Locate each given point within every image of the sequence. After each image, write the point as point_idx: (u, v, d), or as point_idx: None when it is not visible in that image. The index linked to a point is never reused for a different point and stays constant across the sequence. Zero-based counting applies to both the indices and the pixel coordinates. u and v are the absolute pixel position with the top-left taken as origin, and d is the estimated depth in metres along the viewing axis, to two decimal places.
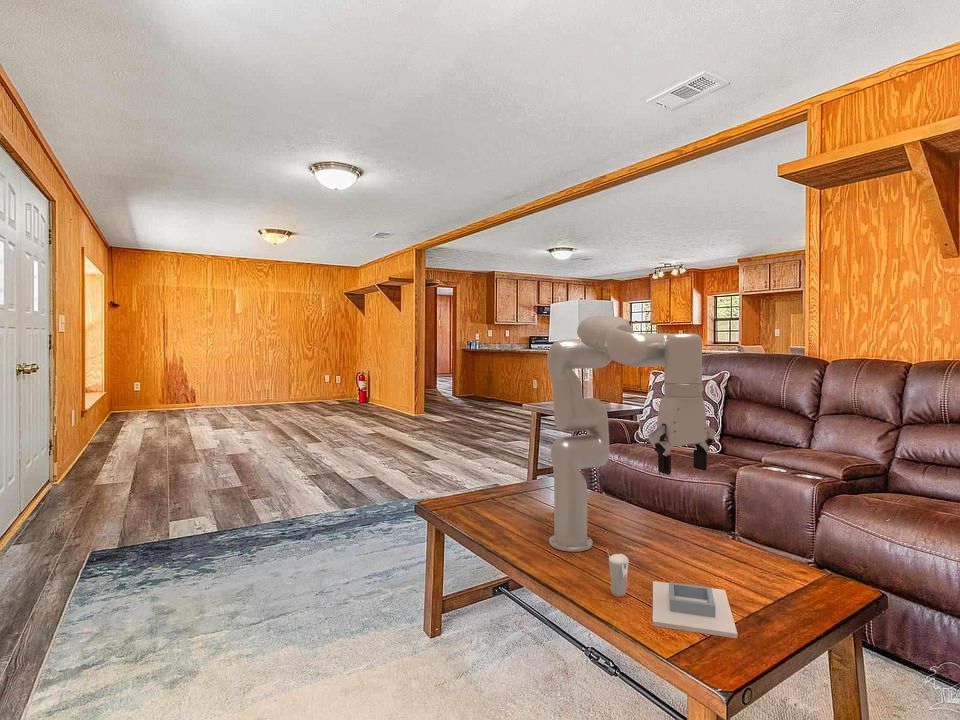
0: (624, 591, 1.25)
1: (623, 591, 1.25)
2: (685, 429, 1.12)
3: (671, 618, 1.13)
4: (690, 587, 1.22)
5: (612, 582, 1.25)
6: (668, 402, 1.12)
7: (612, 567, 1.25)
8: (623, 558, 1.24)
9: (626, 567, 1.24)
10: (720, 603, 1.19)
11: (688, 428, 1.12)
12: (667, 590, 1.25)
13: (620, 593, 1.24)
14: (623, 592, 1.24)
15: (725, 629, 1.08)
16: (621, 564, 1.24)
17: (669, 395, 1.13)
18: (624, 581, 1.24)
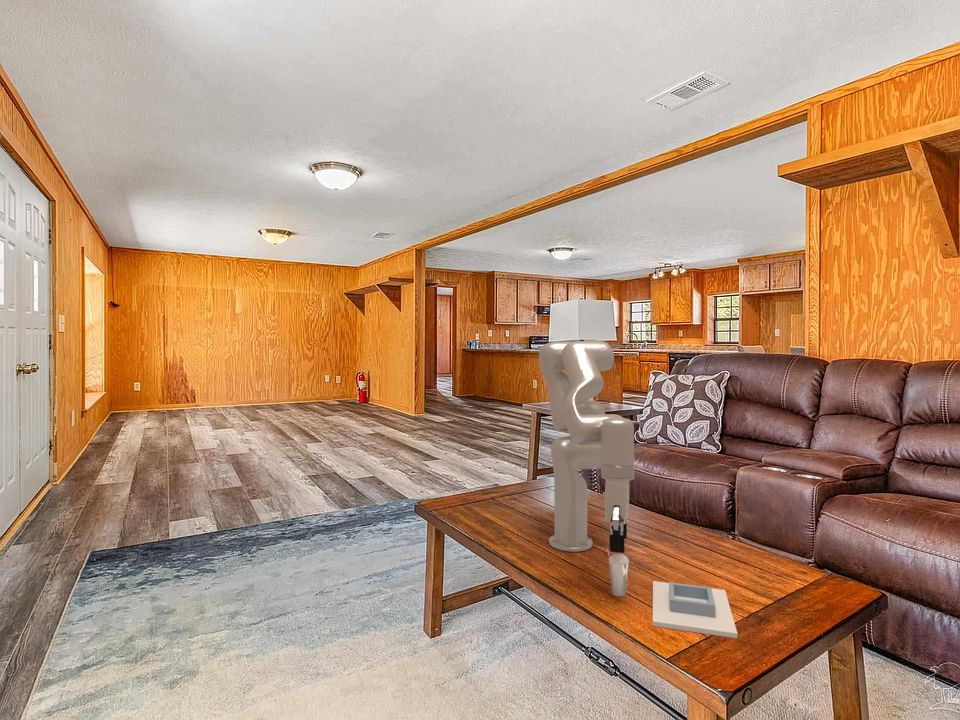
0: (624, 591, 1.25)
1: (623, 591, 1.25)
2: (628, 506, 1.23)
3: (671, 618, 1.13)
4: (690, 587, 1.22)
5: (612, 582, 1.25)
6: (619, 484, 1.21)
7: (612, 567, 1.25)
8: (623, 558, 1.24)
9: (626, 567, 1.24)
10: (720, 603, 1.19)
11: (628, 505, 1.24)
12: (667, 590, 1.25)
13: (620, 593, 1.24)
14: (623, 592, 1.24)
15: (725, 629, 1.08)
16: (621, 564, 1.24)
17: (617, 477, 1.22)
18: (624, 581, 1.24)
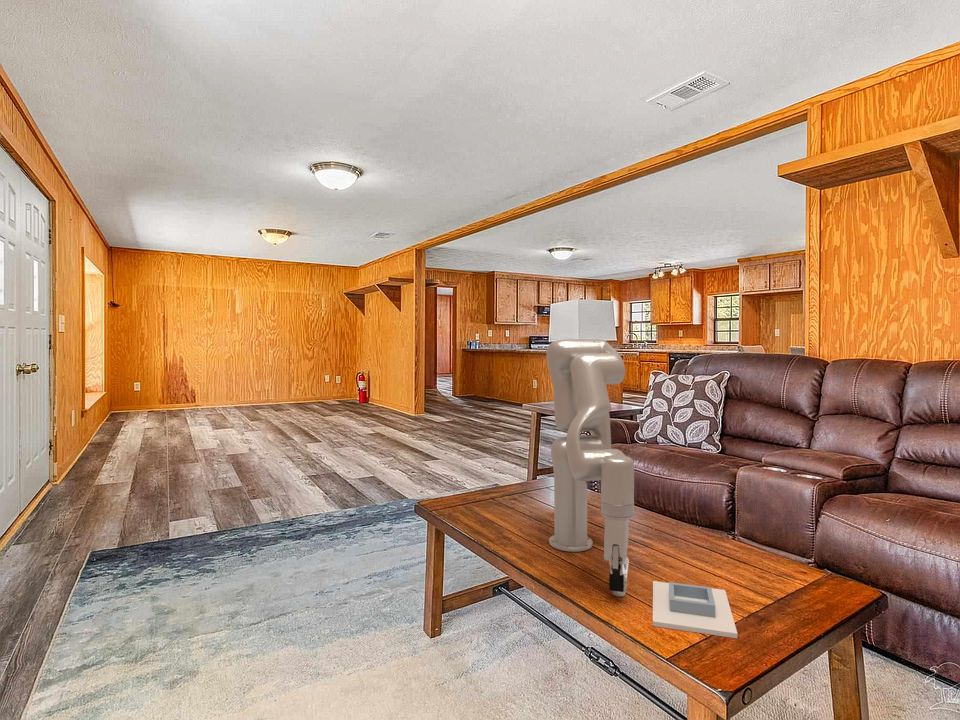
0: (624, 591, 1.25)
1: (623, 591, 1.25)
2: (627, 544, 1.24)
3: (671, 618, 1.13)
4: (690, 587, 1.22)
5: None
6: (619, 523, 1.21)
7: None
8: None
9: (626, 567, 1.24)
10: (720, 603, 1.19)
11: (627, 543, 1.25)
12: (667, 590, 1.25)
13: (620, 593, 1.24)
14: (623, 592, 1.24)
15: (725, 629, 1.08)
16: None
17: (616, 516, 1.22)
18: (624, 581, 1.24)
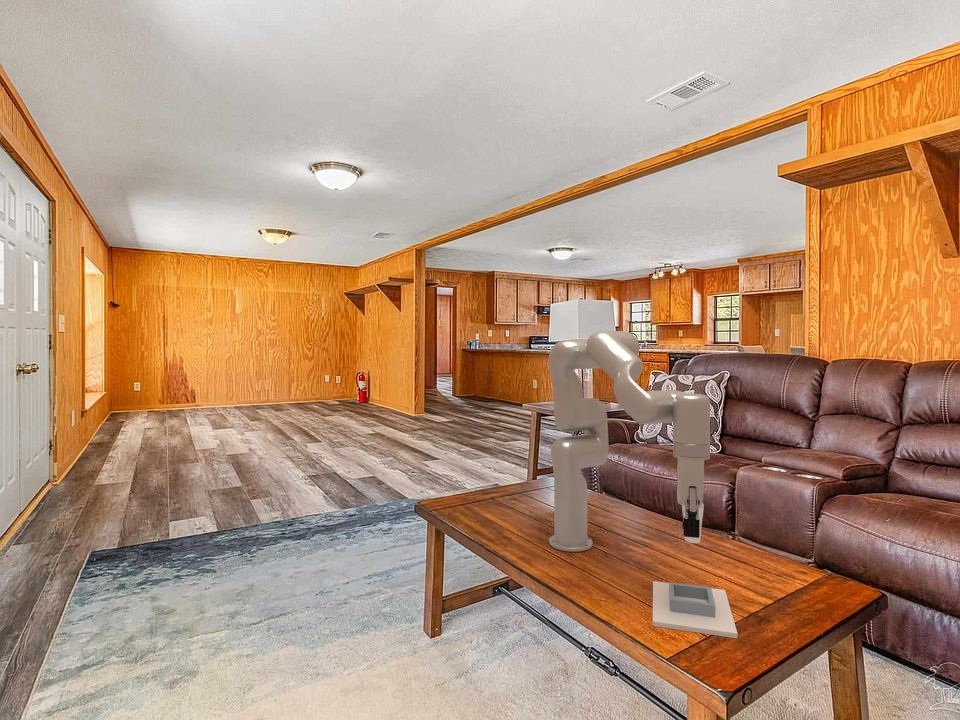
0: (699, 537, 1.17)
1: None
2: None
3: (671, 618, 1.13)
4: (690, 587, 1.22)
5: None
6: (695, 463, 1.13)
7: None
8: None
9: (702, 511, 1.16)
10: (720, 603, 1.19)
11: None
12: (667, 590, 1.25)
13: (695, 539, 1.16)
14: (698, 538, 1.16)
15: (725, 629, 1.08)
16: None
17: (692, 456, 1.14)
18: None
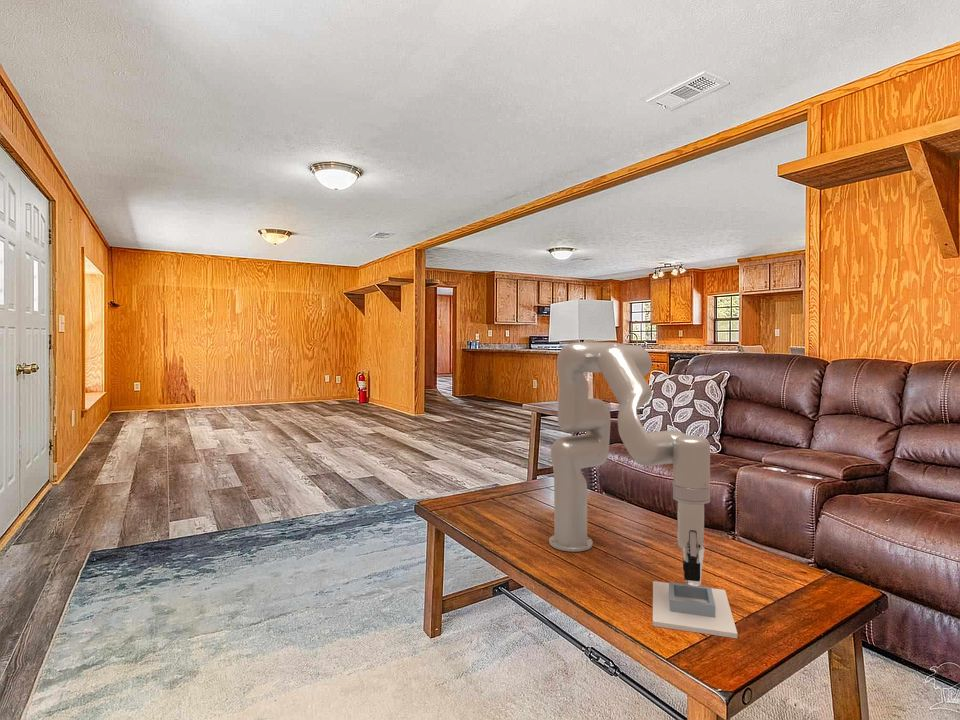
0: (700, 580, 1.17)
1: None
2: None
3: (671, 618, 1.13)
4: (690, 587, 1.22)
5: None
6: (696, 508, 1.13)
7: None
8: None
9: (702, 554, 1.16)
10: (720, 603, 1.19)
11: None
12: (667, 590, 1.25)
13: (695, 582, 1.16)
14: (698, 581, 1.17)
15: (725, 629, 1.08)
16: None
17: (693, 500, 1.14)
18: (700, 569, 1.17)
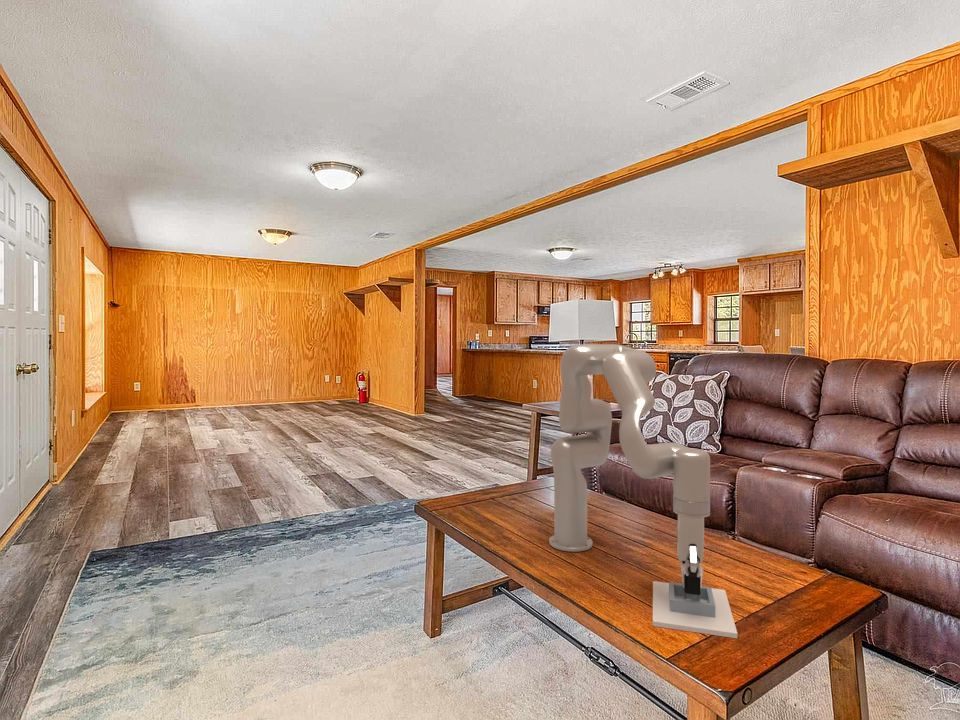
0: None
1: None
2: None
3: (671, 618, 1.13)
4: None
5: None
6: (696, 521, 1.14)
7: None
8: None
9: (701, 576, 1.17)
10: (720, 603, 1.19)
11: None
12: (667, 590, 1.25)
13: None
14: None
15: (725, 629, 1.08)
16: None
17: (693, 514, 1.14)
18: None
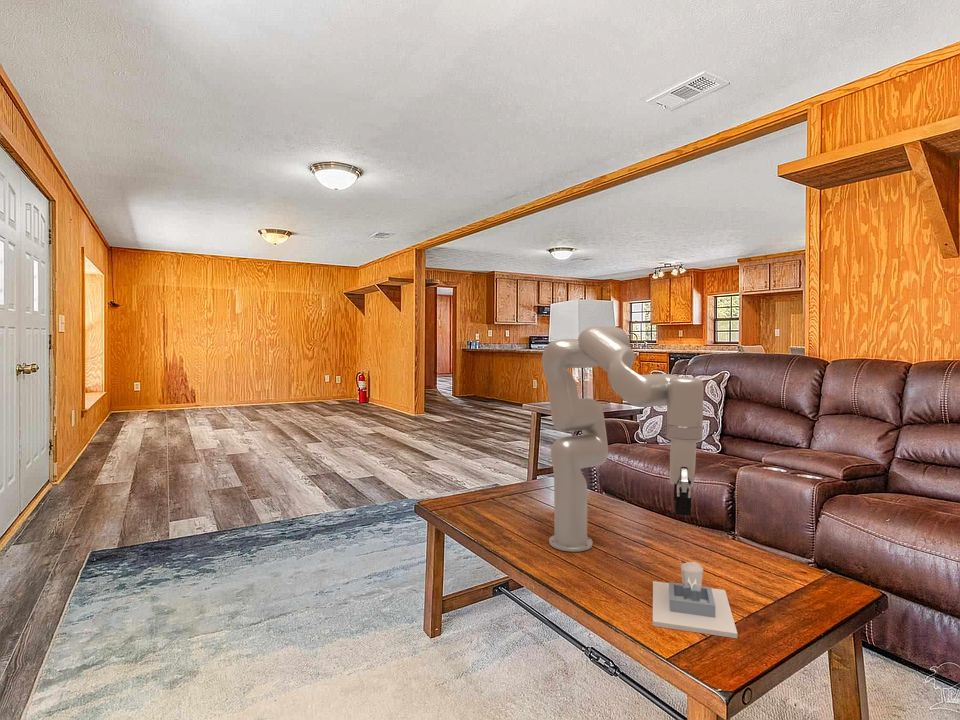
0: None
1: None
2: None
3: (671, 618, 1.13)
4: None
5: (685, 592, 1.18)
6: (688, 445, 1.16)
7: (685, 576, 1.17)
8: (697, 567, 1.17)
9: (701, 576, 1.17)
10: (720, 603, 1.19)
11: None
12: (667, 590, 1.25)
13: None
14: None
15: (725, 629, 1.08)
16: (695, 573, 1.16)
17: (685, 438, 1.17)
18: (698, 591, 1.17)
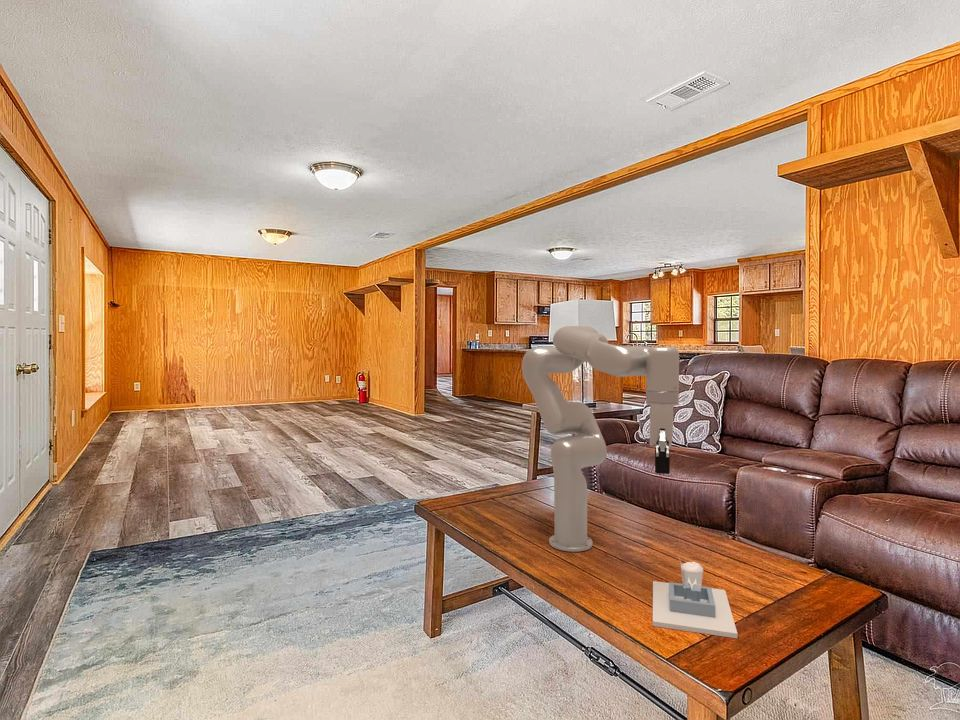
0: None
1: None
2: None
3: (671, 618, 1.13)
4: None
5: (685, 592, 1.18)
6: (665, 408, 1.25)
7: (685, 576, 1.17)
8: (697, 567, 1.17)
9: (701, 576, 1.17)
10: (720, 603, 1.19)
11: None
12: (667, 590, 1.25)
13: None
14: None
15: (725, 629, 1.08)
16: (695, 573, 1.16)
17: (662, 402, 1.26)
18: (698, 591, 1.17)
